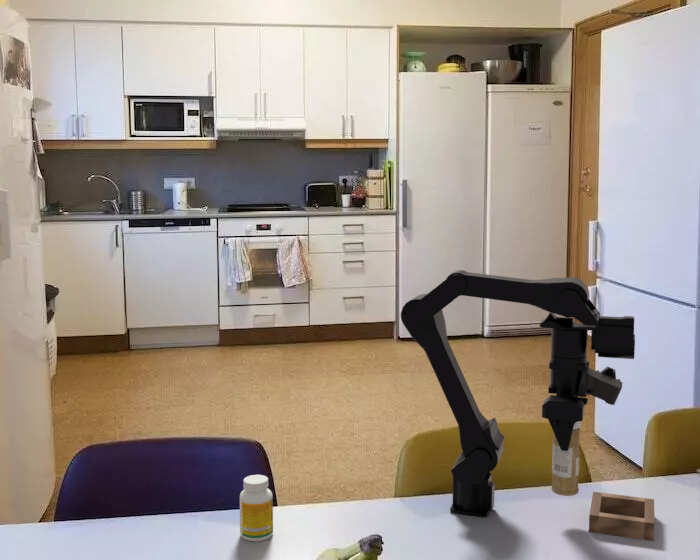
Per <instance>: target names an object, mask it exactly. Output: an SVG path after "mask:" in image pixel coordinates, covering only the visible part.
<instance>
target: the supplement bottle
mask: <svg viewBox="0 0 700 560" xmlns="http://www.w3.org/2000/svg"><path fill="white" fill-rule="evenodd" d="M242 484H243V486H242V487H243V490H242V491H241V492H240V494H239V534H240V537H241V538H242V539H244V540H245V541H249V542H255V543H256V542H263V541H265V540H268V539H269V538H271V537H272V536H273V534H274V511H273V510H274V507H273V505H274V503H273V501H274V499H273V492H272V490H271V489H270V488H268V487H269V484H270V483H269V477H267V476H266V475H263V474H252V475H251V474H250V475H248V476H245V477H244V478H243V483H242Z"/></svg>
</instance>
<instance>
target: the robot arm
mask: <svg viewBox="0 0 700 560" xmlns="http://www.w3.org/2000/svg"><path fill="white" fill-rule="evenodd" d="M461 296H465V297H473V298H479V299H488V300H494V301H503V302H509V303H517V304H518V303H519V304H525V305H530V306H534V307H536V308H539V309H541V310H543V311H546V312H547V313H548V312H549V313H548V315H547V316H546V317H545V318H543V319H542V320H541V321H540V323H539V327H540V328H541V329H551V344H550V348H551V349H550V361H549V363H548V364H549V365H548V369H549V370H550V376H549V377H550V378H549V385H548V390H547V391H548V394H550V395H549V396H548V397H546V398H545V399H544V401H543V403H542V405H541V417H542V418H544V419H547V420H548V423H549V424H550V426H551V430H552V432H554V434H555V436H556V439H557V441H558V444H559V446H560V448H561V450H562V451H568V449H569V445H570V440H571V436H572V432H573V427H574V424H575V423H576V422H577V421H578V422H579V421H581V422H583V420H584V417H585V406H587V404H588V401H589V398H587V396H590V395H591V396H593V397H595V398H597V399H599V400H602V401H604V402H605V403H606V404H608V405H611V406H615V404H616V402H617V400H618V397H619V395H620V393H621V392H622V388H623V382H622V381H621V379H620V378H618V379H617V374H616V369H615V368H612V367H610V366H606V367H604V368H603V369H602V370H601V371H600V370H598V369H597V370H595V369H593V368H590V361H589V360H588V357H587V356H588V334H589V332H588V331H591V339H590V341H591V342H590V343H591V345H590V350H591V351H594V354H597V357H598V358H606V359H607V358H609V359H625V360H634V359H635V349H636V348H635V347H636V335H635V317H634V316H629V315H625V316H608V315H607V316H605V315H601V313H600V312H599V309H598V308H596V306H595V304H594V303H593V302H592V301H591V299H590V291H589V288H588V286H587V284H586V283H585V282H584V281H583V280H582V279H581V278H577V277H573V276H571V277H570V276H569V277H555V278H554V277H552V278H542V279H526V278H517V277H511V276H510V277H509V276H503V275H501V276H500V275H494V274H488V273H487V274H486V273H485V274H484V273H476V272H470V271H466V270H464V269H459V270H455V271H453V272H452V273H450V274H449V275H448V276H447V277H446V279H445V280H444V281H442V282H441V283H440V284H438V285H436V287H434V288H433V289H431V291H429V292H428V293H422V294H418V295H416V296H415V297H413V298H412V299H410V300H408V301H407V302H406V303H405V304H404V305H403V306H402V309H401V312H400V319H401V323H402V324H403V326H404V328H405V329H406V331H407V332H408V334H409V335H410V336H411V338H412V339H413V340H414V341H415V342H416V343H417V344H418V346H420V347H421V349H423V351H424V352H425V355H426V356H427V359H428V361H429V363H430V366H431V368H432V370H433V372H434V374H435V377H436V378H437V382H438V383H439V385H440V388H441V390H442V392H443V394H444V396H445V399H446V402H447V403H448V405H449V407H450V410H451V412H452V414H453V416H454V419H455V422H456V423H457V426H458V432H459V442H460V447H461V451H462V452H461V453H460V455H458V457H457V459H456V460H455V463H454V465H453V466H452V468H451V471H450V472H451V474H452V504H451V506H450V508H449V512H451V513H455V514H464V515H468V516H469V515H470V516H477V517H484V518H485V517H488V515H489V513H490V511H491V510H493V507H494V506H495V488H496V487H495V482H494V481H492V478H493V475H492V471H493V470H494V469H496V467H497V465H498V463H499V461H500V459H501V456H502V455H503V451H504V440H505V436H504V435H503V434H502V432H501V431H500V429H499V425H498V423H497V419H496V417H493V418H491V419H489V420H488V419H487V418H486V416H484V415H483V414H482V413H481V411H480V409H479V407H478V405H477V402H476V399H475V398H474V396H473V393H472V391H471V388H470V387H469V385H468V383H467V380H466V377H465V376H464V373H463V371H462V369H461V366H460V365H459V362H458V360H457V358H456V356H455V353H454V351H453V349H452V347H451V345H450V342H449V339H448V334H447V326H446V320H445V316H444V312H443V310H444V308H446V307H447V306H448V305H449V304H451V303H453V301H454V300H456V299H457V298H458V297H461ZM555 314H556V315H555ZM559 316H560V317H559ZM575 320H577V321H578V322H576V321H575ZM551 394H552V395H551ZM553 394H554V395H553Z"/></svg>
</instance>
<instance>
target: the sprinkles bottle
mask: <svg viewBox="0 0 700 560" xmlns="http://www.w3.org/2000/svg"><path fill="white" fill-rule="evenodd" d="M581 427H582V421H579V422H578V421H577V422H576V423H575V424H574V427H573V432H572V436H571V440H570V445H569V449H568V451H562V450H561V448H560V446H559V444H558V441H557V439H556V436H555V434H554V432H553V431H552V432H553V434H552V437H553V438H552V454H551V455H552V459H551V460H552V461H551V462H552V463H551V467H552V468H551V474H552V475H551V476H552V479H551V481H552V482H551V491H552V492H553V493H554V494H556V495H559V496H562V497H563V496H564V497H570V496H573V497H574V496H576V495H577V494H579V491H580V488H579V474H580V430H581Z"/></svg>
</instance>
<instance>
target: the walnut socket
mask: <svg viewBox="0 0 700 560" xmlns="http://www.w3.org/2000/svg"><path fill="white" fill-rule="evenodd" d="M589 509H590V510H589V516H588V517H589V518H588V519H589V520H588V533H594V534H601V535H608V536H614V537H615V536H616V537H621V538H628V539H635V540H643V541H648V542H654V541H655V538H654V537H655V522H656V520H655V499H654V498H646V497H640V496H639V497H637V496H631V495H623V494H615V493H605V492H601V491H600V492H598V491H592V497H591V502H590V508H589Z"/></svg>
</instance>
